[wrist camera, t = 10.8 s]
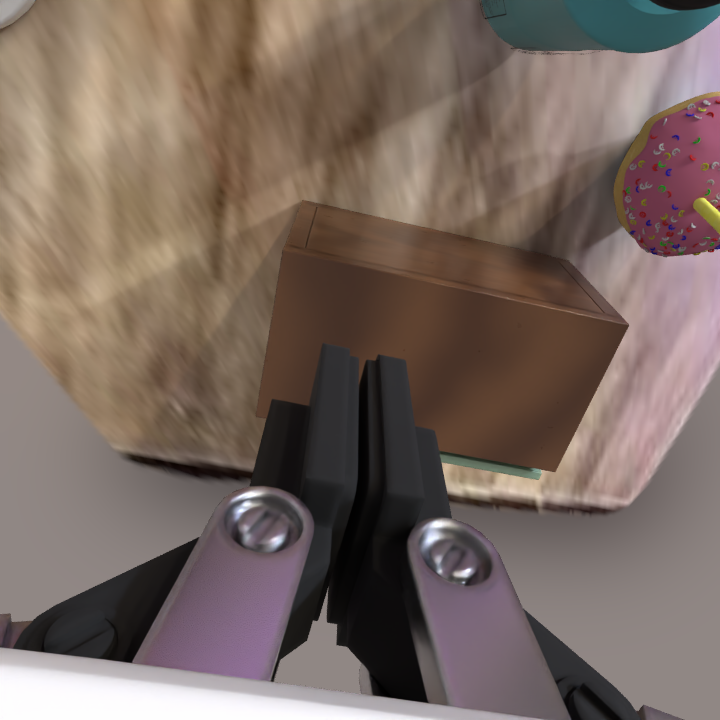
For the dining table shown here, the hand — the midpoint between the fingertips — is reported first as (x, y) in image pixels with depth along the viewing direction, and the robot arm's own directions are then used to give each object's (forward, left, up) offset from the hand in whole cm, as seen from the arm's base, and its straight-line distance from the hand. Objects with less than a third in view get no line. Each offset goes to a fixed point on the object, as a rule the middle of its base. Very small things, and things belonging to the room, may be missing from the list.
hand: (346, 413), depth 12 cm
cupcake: (+18, +4, -27) cm, 33 cm away
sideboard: (+6, -8, -27) cm, 29 cm away
